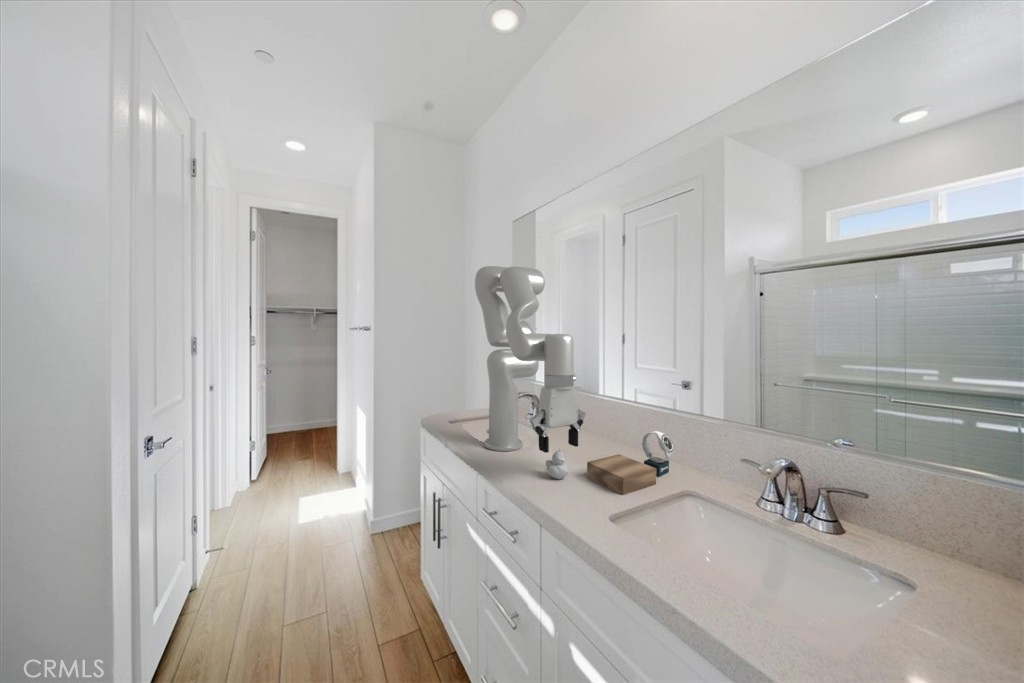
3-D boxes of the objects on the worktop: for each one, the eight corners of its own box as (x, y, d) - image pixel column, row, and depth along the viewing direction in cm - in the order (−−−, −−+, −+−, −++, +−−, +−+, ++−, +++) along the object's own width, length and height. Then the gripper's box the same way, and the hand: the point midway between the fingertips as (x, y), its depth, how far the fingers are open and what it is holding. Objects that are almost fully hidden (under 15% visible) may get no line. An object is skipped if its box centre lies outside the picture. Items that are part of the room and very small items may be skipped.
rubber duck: (561, 484, 91) (562, 452, 90) (539, 476, 95) (540, 446, 95) (572, 477, 95) (573, 447, 95) (551, 470, 99) (552, 441, 99)
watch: (666, 479, 94) (667, 437, 94) (637, 470, 100) (638, 430, 100) (676, 474, 98) (677, 433, 98) (647, 465, 104) (649, 427, 104)
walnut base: (586, 476, 95) (587, 461, 95) (618, 468, 102) (619, 454, 101) (623, 495, 85) (623, 478, 85) (656, 484, 91) (656, 468, 91)
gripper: (574, 378, 102) (574, 440, 102) (522, 382, 93) (522, 449, 93) (593, 381, 95) (593, 446, 95) (540, 385, 86) (540, 457, 86)
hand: (558, 448), depth 94 cm, fingers open, 9 cm apart
